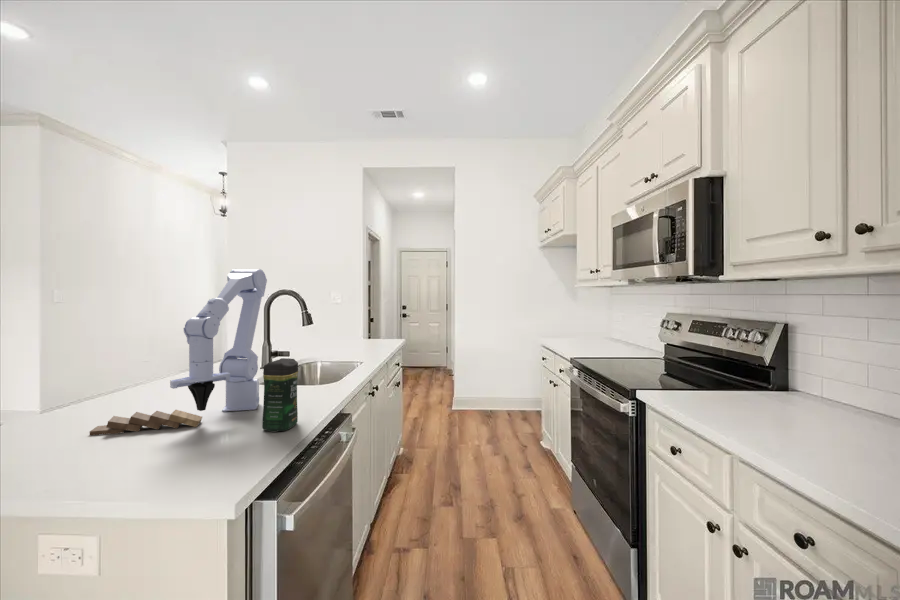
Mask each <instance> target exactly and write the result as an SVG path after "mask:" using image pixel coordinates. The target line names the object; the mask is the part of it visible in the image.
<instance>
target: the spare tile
mask: <svg viewBox="0 0 900 600" xmlns="http://www.w3.org/2000/svg"><path fill="white" fill-rule="evenodd" d="M170 414H171V415H170V417H169V419H168V420H171V421H175V422H178V423H182V424H183V425H187V426H189V427H193V428H194V427H195V428H197V427H198V426H199V424H200V423H201V421H202V419H203V416H200V415H199V414H198V415H197V414H193V413H191V412H187V411H182V410H179V409H175V410H173V411H172V413H170ZM182 424H181V425H182Z"/></svg>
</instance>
